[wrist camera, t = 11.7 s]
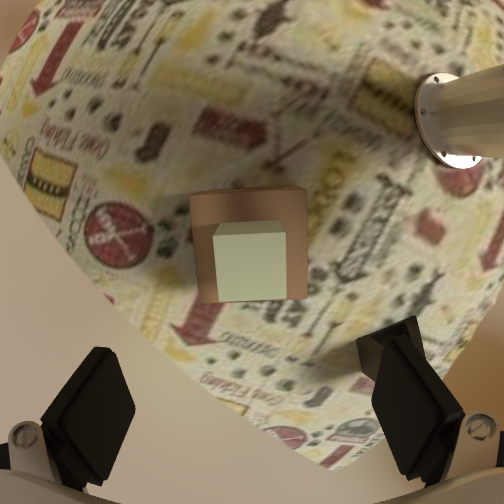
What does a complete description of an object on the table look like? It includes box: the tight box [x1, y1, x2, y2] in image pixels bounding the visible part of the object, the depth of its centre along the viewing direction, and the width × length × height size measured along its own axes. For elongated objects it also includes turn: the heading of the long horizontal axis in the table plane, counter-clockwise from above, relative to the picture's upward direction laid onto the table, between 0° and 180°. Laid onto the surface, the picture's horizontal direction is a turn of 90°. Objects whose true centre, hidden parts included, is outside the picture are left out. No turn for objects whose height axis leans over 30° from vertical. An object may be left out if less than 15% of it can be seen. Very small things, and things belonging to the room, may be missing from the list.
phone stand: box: [357, 316, 426, 382], centre depth 30 cm, size 9×6×12 cm, turn 109°
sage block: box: [213, 220, 287, 302], centre depth 23 cm, size 5×5×5 cm
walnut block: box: [189, 186, 308, 303], centre depth 28 cm, size 10×10×6 cm
